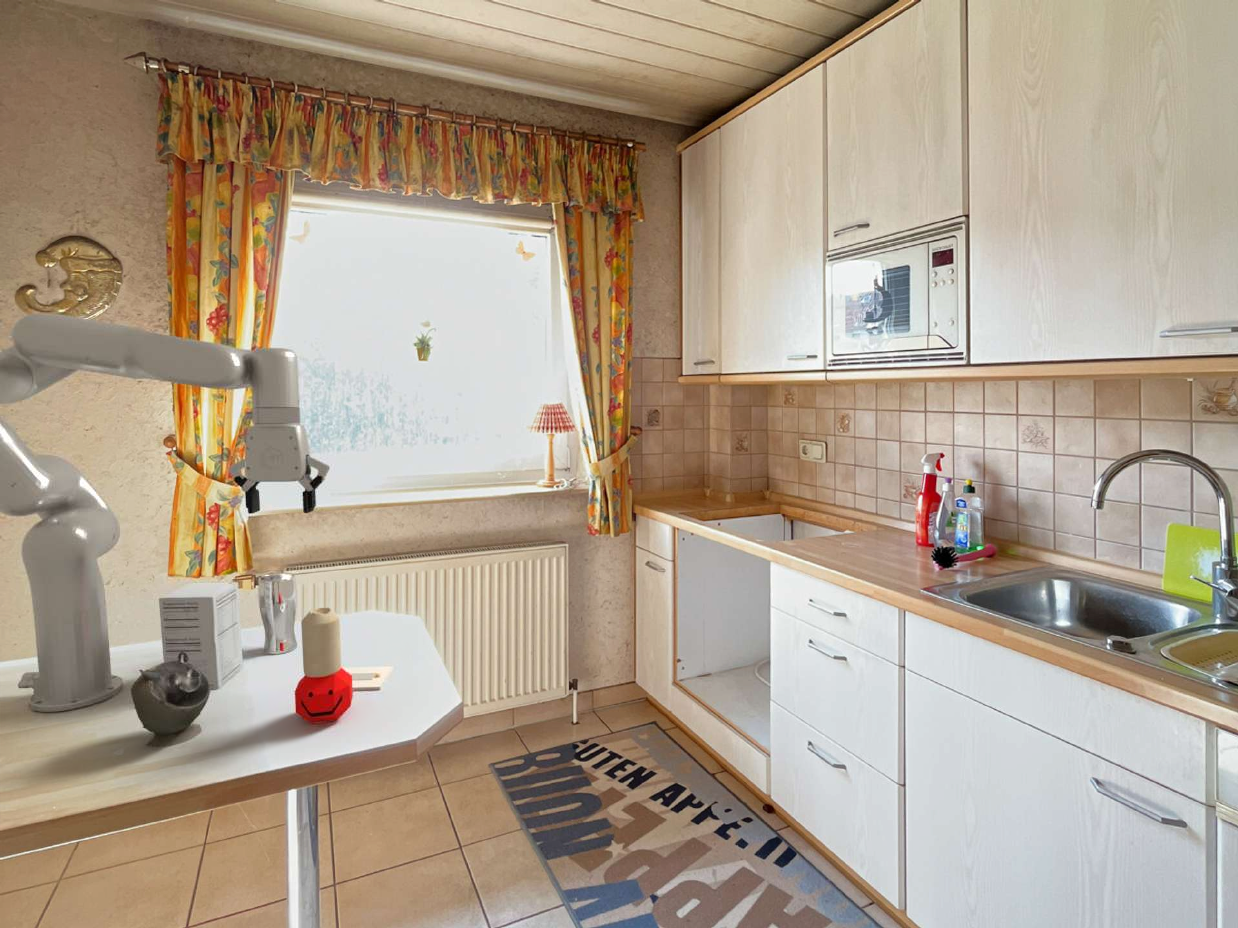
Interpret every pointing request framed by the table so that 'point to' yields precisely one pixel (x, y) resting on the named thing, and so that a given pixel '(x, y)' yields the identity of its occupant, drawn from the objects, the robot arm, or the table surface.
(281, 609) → the beer glass
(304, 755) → the table surface
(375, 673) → the card
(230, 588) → the supplement box
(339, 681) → the ball
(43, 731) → the table surface
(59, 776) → the table surface
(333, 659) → the candle
